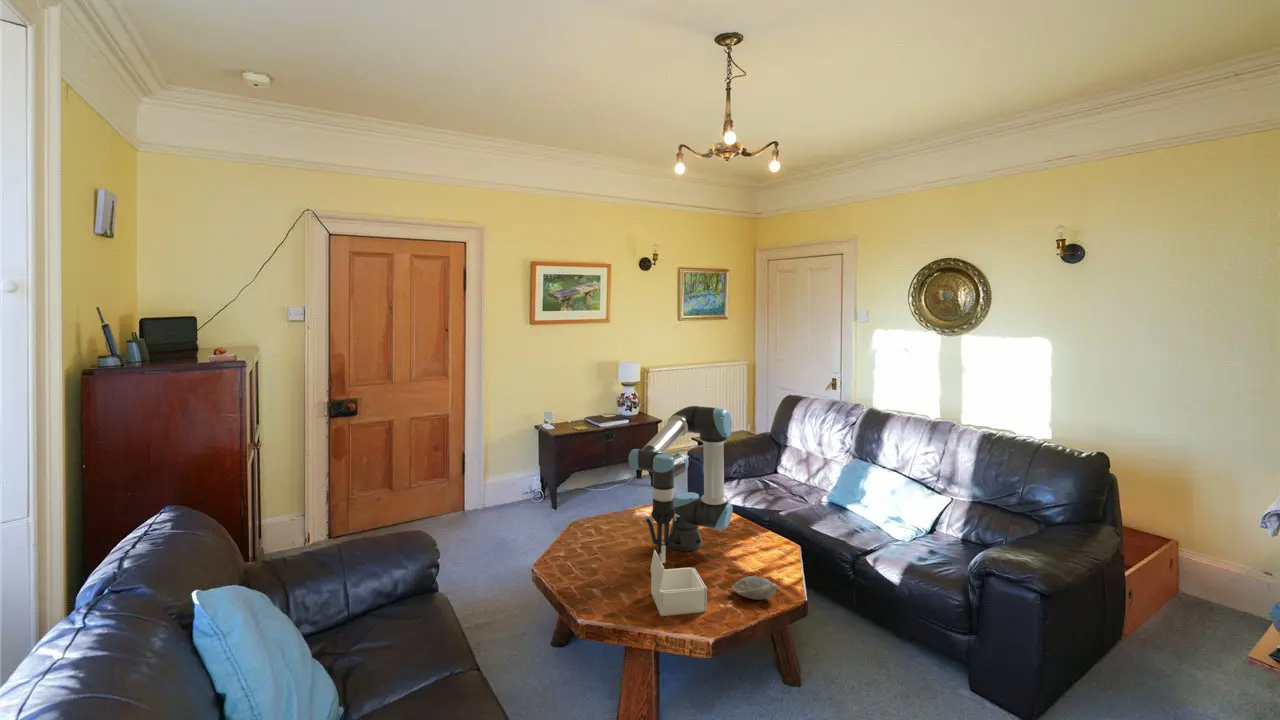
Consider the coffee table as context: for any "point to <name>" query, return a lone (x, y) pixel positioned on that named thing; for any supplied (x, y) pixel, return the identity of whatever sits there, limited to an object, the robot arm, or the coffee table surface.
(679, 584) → the white open box
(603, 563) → the coffee table surface
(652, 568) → the flap
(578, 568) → the coffee table surface
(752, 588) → the seashell
